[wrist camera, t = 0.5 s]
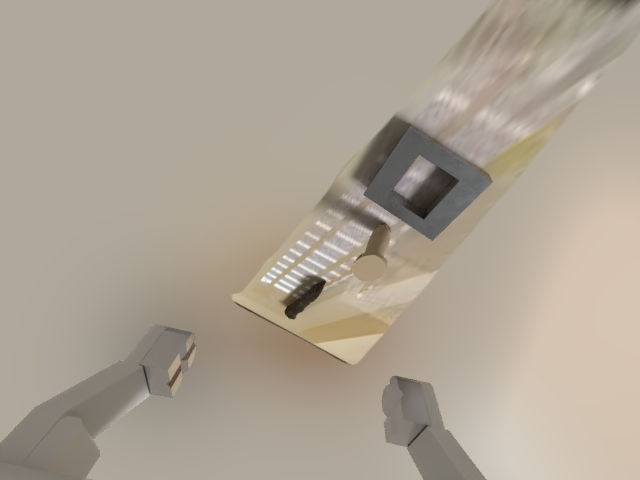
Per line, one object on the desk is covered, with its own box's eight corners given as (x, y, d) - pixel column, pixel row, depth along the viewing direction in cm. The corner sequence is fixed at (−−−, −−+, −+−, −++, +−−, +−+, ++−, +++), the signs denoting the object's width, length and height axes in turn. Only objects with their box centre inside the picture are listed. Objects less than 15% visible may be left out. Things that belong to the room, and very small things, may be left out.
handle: (365, 229, 59) (346, 266, 47) (388, 213, 55) (373, 250, 43) (379, 244, 59) (363, 285, 48) (402, 230, 56) (392, 270, 44)
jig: (410, 124, 45) (408, 127, 42) (489, 174, 45) (492, 181, 42) (367, 187, 54) (363, 194, 51) (432, 231, 53) (432, 240, 50)
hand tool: (297, 313, 83) (291, 323, 79) (288, 304, 83) (281, 315, 79) (333, 286, 72) (328, 297, 68) (323, 276, 71) (316, 287, 68)
